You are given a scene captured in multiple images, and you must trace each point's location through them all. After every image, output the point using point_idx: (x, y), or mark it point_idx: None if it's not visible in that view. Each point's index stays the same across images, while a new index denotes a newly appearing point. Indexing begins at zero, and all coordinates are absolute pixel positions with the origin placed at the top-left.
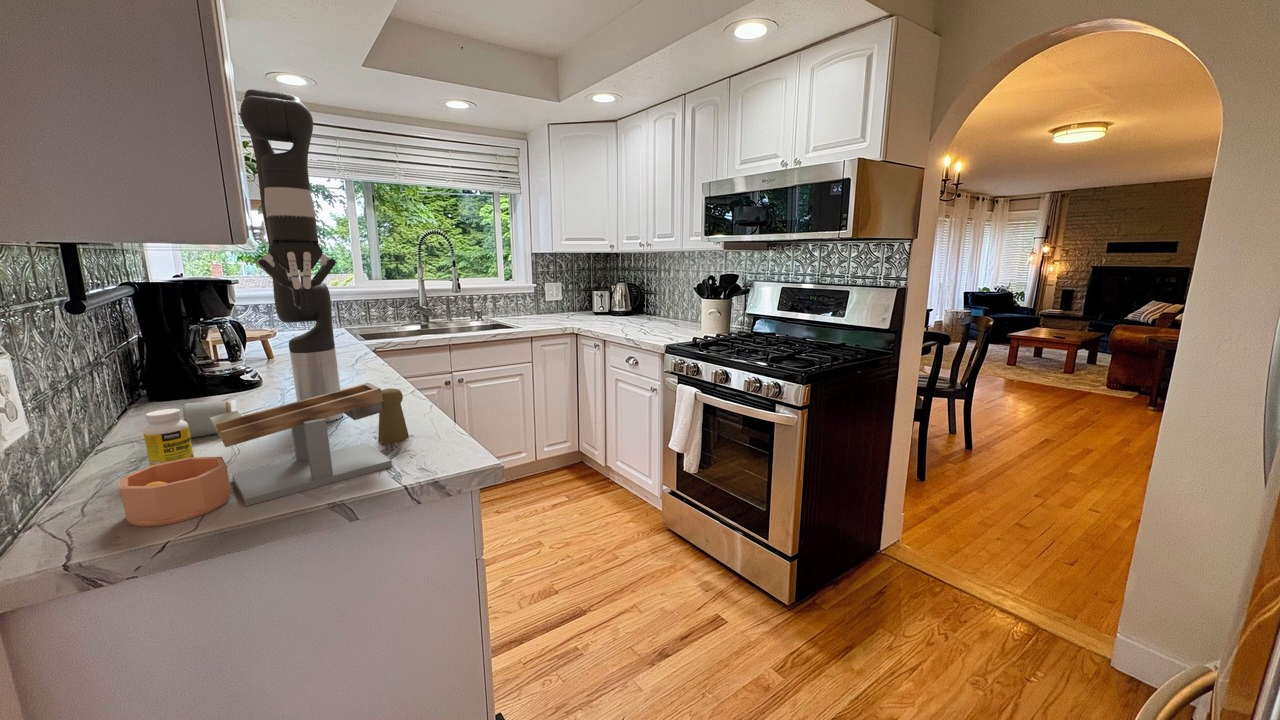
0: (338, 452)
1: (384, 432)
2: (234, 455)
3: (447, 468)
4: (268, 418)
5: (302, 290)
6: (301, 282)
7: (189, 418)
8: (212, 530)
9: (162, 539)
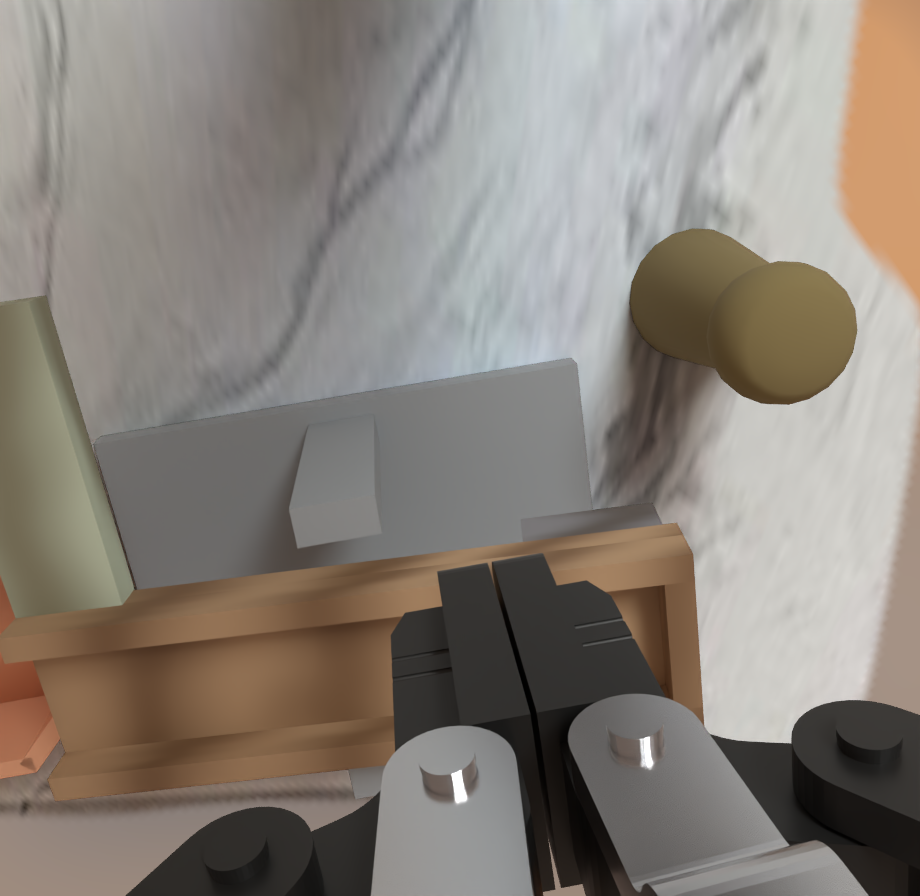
0: (460, 429)
1: (664, 345)
2: (48, 77)
3: (733, 727)
4: (218, 769)
5: (548, 876)
6: (601, 840)
7: None
8: (116, 797)
9: (6, 786)
